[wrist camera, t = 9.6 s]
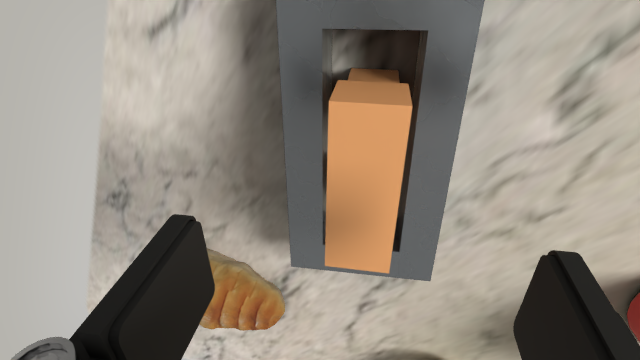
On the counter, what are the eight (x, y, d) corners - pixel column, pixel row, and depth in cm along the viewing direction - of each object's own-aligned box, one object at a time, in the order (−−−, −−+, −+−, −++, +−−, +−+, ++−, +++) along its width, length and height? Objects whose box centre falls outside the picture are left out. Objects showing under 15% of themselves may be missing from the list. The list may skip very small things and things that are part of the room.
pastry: (297, 272, 29) (286, 312, 25) (278, 325, 32) (265, 365, 29) (182, 234, 29) (155, 268, 25) (175, 291, 32) (151, 327, 29)
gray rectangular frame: (292, -25, 18) (274, -24, 15) (471, -26, 17) (489, -25, 14) (302, 232, 26) (291, 266, 23) (425, 243, 25) (430, 281, 22)
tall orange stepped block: (347, 58, 20) (328, 100, 14) (404, 61, 20) (412, 106, 13) (341, 186, 24) (324, 265, 18) (388, 190, 24) (389, 273, 17)
